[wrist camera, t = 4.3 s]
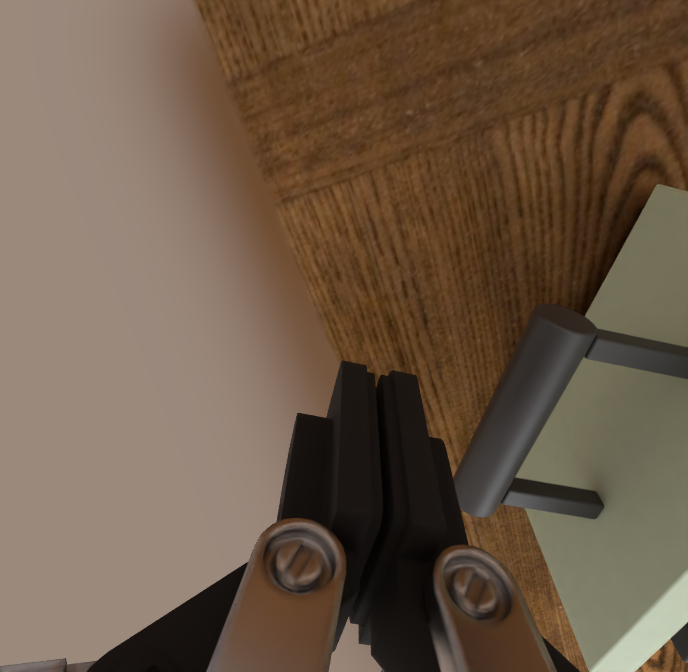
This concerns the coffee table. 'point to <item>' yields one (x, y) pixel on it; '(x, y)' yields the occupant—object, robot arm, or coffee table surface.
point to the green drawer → (603, 446)
